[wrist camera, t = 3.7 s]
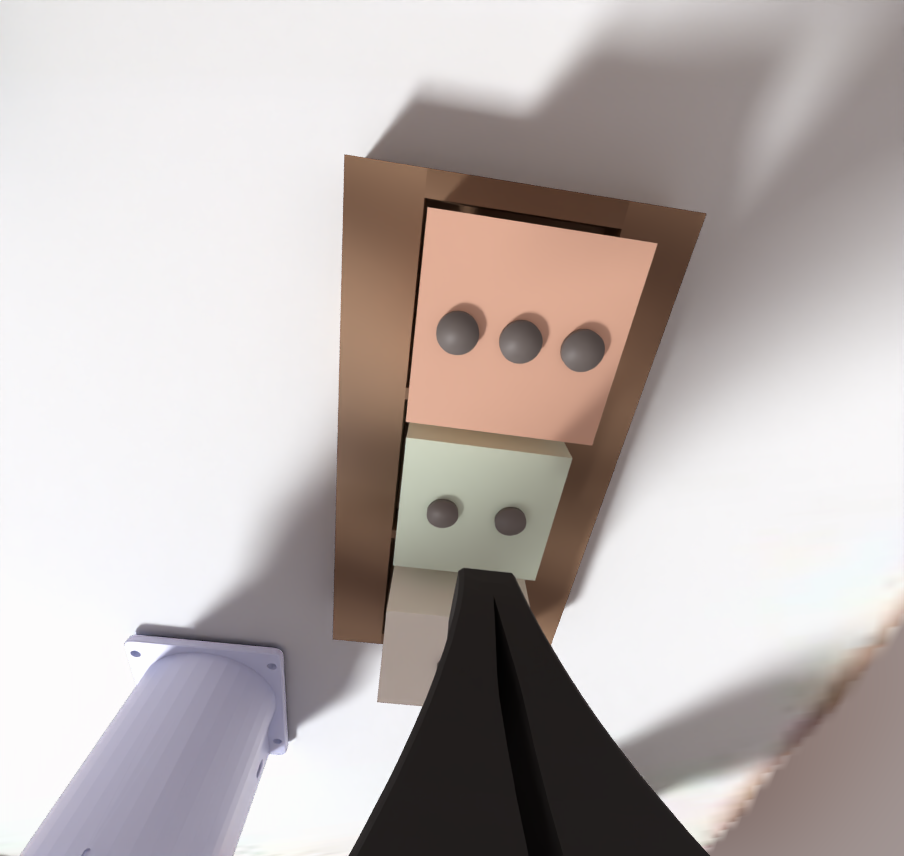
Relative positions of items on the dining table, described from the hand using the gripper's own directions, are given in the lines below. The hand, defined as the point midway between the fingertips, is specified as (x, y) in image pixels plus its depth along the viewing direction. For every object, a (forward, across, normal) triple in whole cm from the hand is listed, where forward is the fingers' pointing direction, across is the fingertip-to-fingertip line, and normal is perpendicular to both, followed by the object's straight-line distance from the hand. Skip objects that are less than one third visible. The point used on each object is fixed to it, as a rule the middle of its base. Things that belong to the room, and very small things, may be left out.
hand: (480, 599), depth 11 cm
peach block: (+5, 0, -6) cm, 8 cm away
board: (+8, 0, 0) cm, 8 cm away
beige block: (+6, 0, +6) cm, 8 cm away
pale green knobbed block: (+6, 0, 0) cm, 6 cm away
